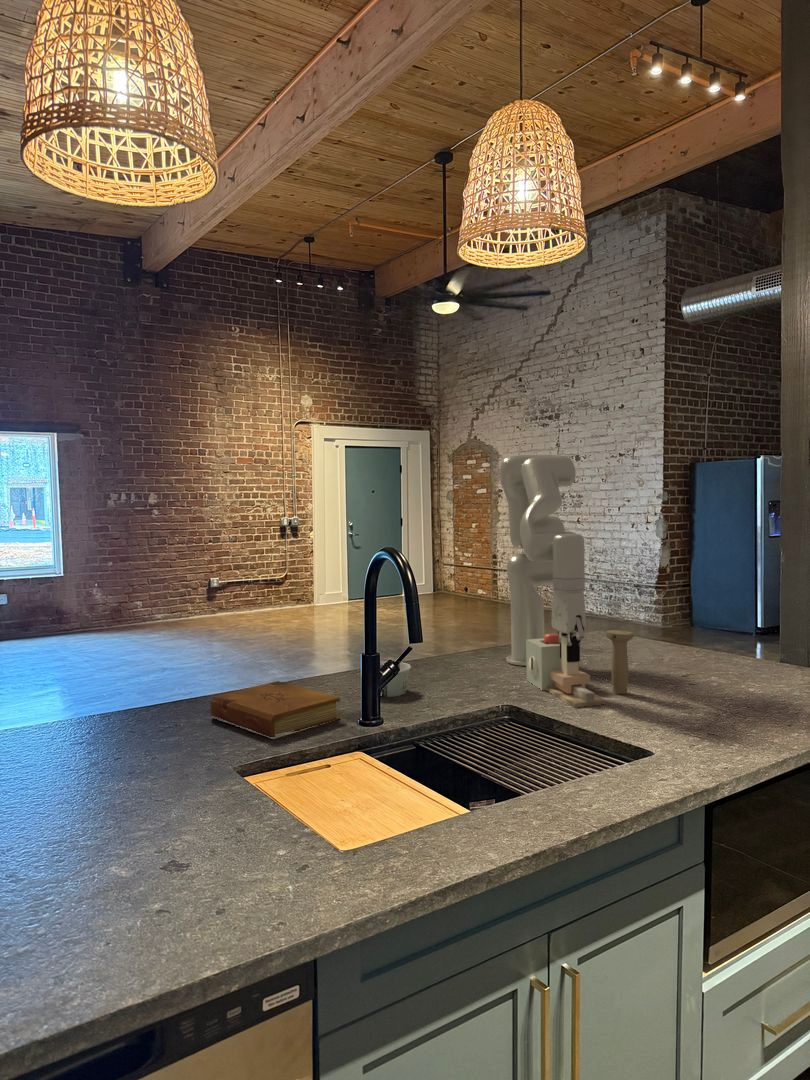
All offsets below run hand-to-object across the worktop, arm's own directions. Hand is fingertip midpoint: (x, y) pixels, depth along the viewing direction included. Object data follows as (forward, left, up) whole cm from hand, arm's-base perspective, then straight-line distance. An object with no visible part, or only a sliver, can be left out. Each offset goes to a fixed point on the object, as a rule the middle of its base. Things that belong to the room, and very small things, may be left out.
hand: (569, 659), depth 183 cm
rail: (+3, 0, -9) cm, 9 cm away
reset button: (-10, 0, +1) cm, 11 cm away
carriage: (0, 0, -7) cm, 7 cm away
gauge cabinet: (-11, 0, -9) cm, 14 cm away
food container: (-17, -42, -9) cm, 46 cm away
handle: (+2, +12, -9) cm, 15 cm away
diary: (-2, -71, -9) cm, 72 cm away
